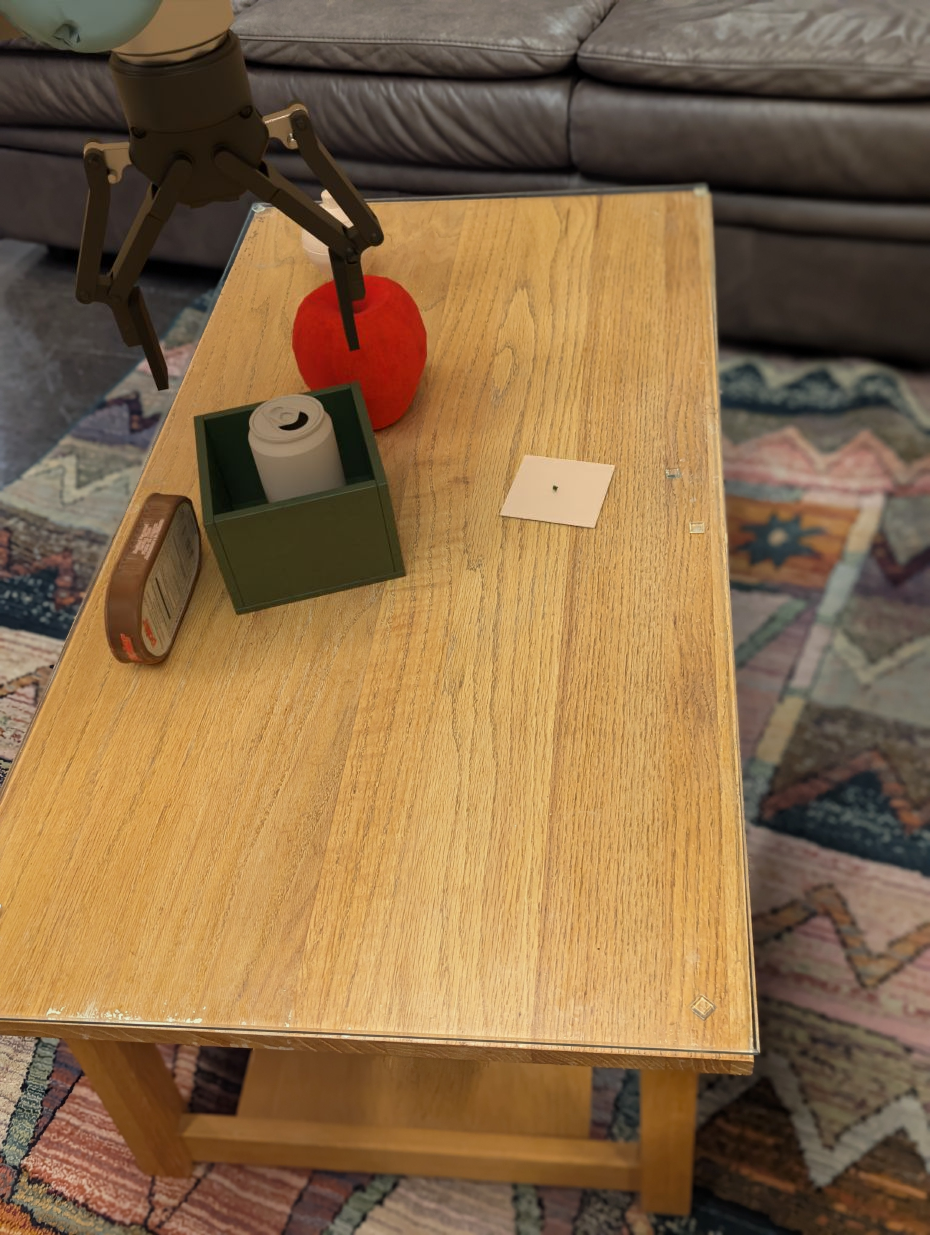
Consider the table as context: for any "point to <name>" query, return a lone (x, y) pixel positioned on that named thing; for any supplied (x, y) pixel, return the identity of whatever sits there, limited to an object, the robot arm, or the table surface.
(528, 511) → the coaster
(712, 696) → the table surface
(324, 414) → the beverage can
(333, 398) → the waste bin
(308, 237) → the spinning top
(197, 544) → the tin
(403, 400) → the apple
